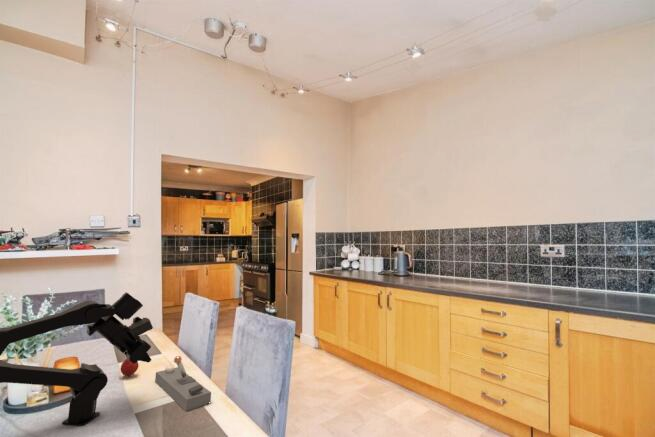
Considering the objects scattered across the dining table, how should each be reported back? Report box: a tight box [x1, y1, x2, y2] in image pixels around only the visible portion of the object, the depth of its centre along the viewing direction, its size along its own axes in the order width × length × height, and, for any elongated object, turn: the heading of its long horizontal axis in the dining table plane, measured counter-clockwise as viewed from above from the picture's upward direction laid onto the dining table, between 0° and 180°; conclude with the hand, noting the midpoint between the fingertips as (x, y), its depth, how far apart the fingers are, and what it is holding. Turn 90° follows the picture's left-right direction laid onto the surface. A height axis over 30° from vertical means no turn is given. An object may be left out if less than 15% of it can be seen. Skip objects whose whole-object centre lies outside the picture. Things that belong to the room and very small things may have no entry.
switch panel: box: [154, 366, 212, 412], centre depth 115 cm, size 8×28×4 cm, turn 46°
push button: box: [164, 364, 175, 373], centre depth 123 cm, size 3×3×2 cm
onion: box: [120, 358, 139, 378], centre depth 125 cm, size 6×6×8 cm
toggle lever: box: [173, 355, 188, 378], centre depth 115 cm, size 2×2×8 cm
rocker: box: [189, 383, 204, 395], centre depth 107 cm, size 4×2×1 cm, turn 136°
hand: (150, 360), depth 108 cm, fingers closed
